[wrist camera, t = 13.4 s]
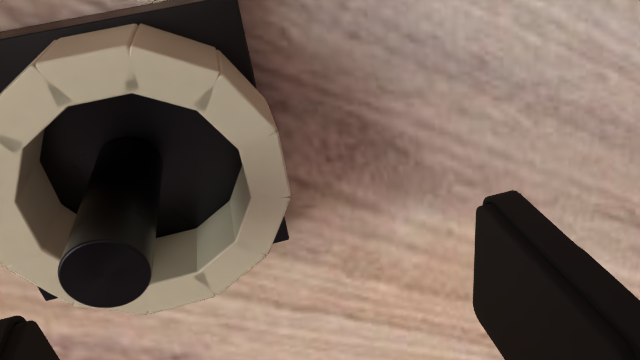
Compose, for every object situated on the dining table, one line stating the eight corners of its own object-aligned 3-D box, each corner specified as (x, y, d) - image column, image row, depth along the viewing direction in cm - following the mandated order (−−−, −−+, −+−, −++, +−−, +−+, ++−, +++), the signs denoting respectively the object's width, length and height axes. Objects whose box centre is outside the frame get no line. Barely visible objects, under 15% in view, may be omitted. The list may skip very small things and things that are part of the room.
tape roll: (246, 1, 14) (255, 19, 12) (294, 230, 19) (307, 273, 17) (-62, 60, 13) (-110, 91, 11) (66, 288, 18) (48, 341, 16)
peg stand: (233, -12, 15) (259, 42, 9) (284, 222, 20) (322, 352, 14) (-79, 46, 14) (-261, 147, 8) (53, 279, 19) (-6, 445, 13)
